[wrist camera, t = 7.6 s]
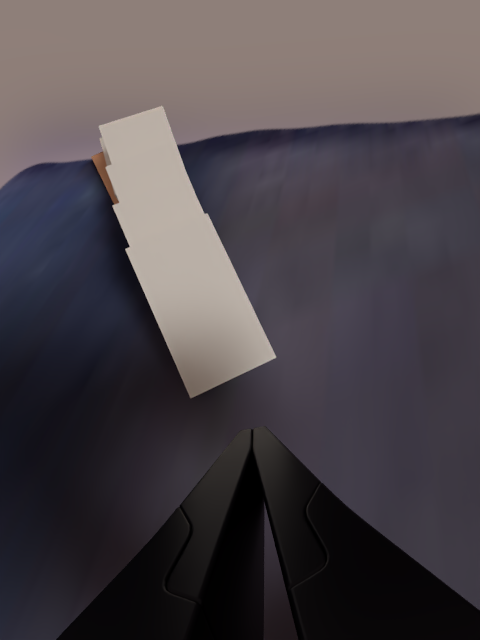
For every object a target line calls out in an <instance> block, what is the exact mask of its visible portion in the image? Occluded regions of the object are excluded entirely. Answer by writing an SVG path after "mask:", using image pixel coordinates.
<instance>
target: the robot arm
mask: <svg viewBox="0 0 480 640" xmlns="http://www.w3.org/2000/svg"><path fill="white" fill-rule="evenodd" d="M264 502H265V506H266V510H267V514H268V518H269V522H270V526H271V530H272V534H273V538H274V542H275V546H276V550H277V554H278V558H279V562H280V567H281V571H282V575H283V579H284V583H285V587H286V591H287V595H288V599H289V603H290V607H291V611H292V615H293V619H294V623H295V627H296V631H297V636H298V640H480V610H478V609H477V608H476V607H475V606H473V605H472V604H471V603H469V602H468V601H467V600H466V599H464V598H463V597H462V596H460V595H459V594H458V593H457V592H455V591H454V590H453V589H451V588H450V587H449V586H448V585H446V584H445V583H444V582H442V581H441V580H440V579H439V578H437V577H436V576H435V575H433V574H432V573H431V572H430V571H428V570H427V569H426V568H424V567H423V566H422V565H421V564H419V563H418V562H417V561H415V560H414V559H413V558H412V557H410V556H409V555H408V554H407V553H405V552H404V551H403V550H401V549H400V548H399V547H398V546H396V545H395V544H394V543H392V542H391V541H390V540H389V539H387V538H386V537H385V536H383V535H382V534H381V533H380V532H378V531H377V530H376V529H374V528H373V527H372V526H371V525H369V524H368V523H367V522H366V521H364V520H363V519H362V518H361V517H359V516H358V515H357V514H356V513H355V512H353V511H352V510H351V509H350V508H348V507H347V506H346V505H345V504H344V503H343V502H342V501H341V500H340V499H339V498H337V497H336V496H335V495H334V494H333V493H332V492H331V491H330V490H329V489H328V488H327V487H326V486H325V485H324V484H323V483H321V481H320V480H319V479H318V478H317V477H316V476H315V475H314V474H313V473H312V472H311V471H310V470H309V469H308V468H307V467H306V466H305V465H304V464H303V463H302V462H301V461H300V460H299V459H298V458H297V457H296V456H295V455H294V454H293V453H292V452H291V451H290V450H289V449H288V448H287V447H286V446H285V445H284V444H283V443H282V442H281V441H280V440H279V439H278V438H277V437H276V436H275V435H274V434H273V433H272V432H271V431H270V430H269V429H268V428H267V427H265V426H263V427H258V428H254V429H253V430H252V429H247V430H241V431H240V432H239V433H238V434H237V435H236V437H235V438H234V439H233V440H232V442H231V443H230V444H229V445H228V447H227V448H226V449H225V450H224V452H223V453H222V454H221V455H220V457H219V458H218V459H217V460H216V461H215V463H214V464H213V465H212V466H211V468H210V469H209V470H208V471H207V473H206V474H205V475H204V476H203V478H202V479H201V480H200V481H199V482H198V484H197V485H196V486H195V487H194V489H193V490H192V491H191V492H190V494H189V495H188V496H187V497H186V499H185V500H184V501H183V502H182V503H181V505H180V507H178V508H177V509H176V510H175V511H174V513H173V514H172V515H171V516H170V518H169V519H168V520H167V521H166V522H165V523H164V525H163V526H162V527H161V528H160V529H159V530H158V532H157V533H156V534H155V535H154V536H153V538H152V539H151V540H150V541H149V542H148V543H147V544H146V545H145V546H144V547H143V548H142V550H141V551H140V552H139V553H138V554H137V555H136V556H135V557H134V558H133V559H132V560H131V561H130V562H129V564H128V565H127V566H126V567H125V568H124V569H123V570H122V571H121V572H120V573H119V574H118V575H117V576H116V577H115V578H114V579H113V580H112V581H111V582H110V583H109V585H108V586H107V587H106V588H105V589H104V590H103V591H102V592H101V593H100V594H99V595H98V596H97V597H96V598H95V599H94V600H93V601H92V602H91V603H90V604H89V606H88V607H87V608H86V609H85V610H84V611H83V612H82V613H81V614H80V615H79V616H78V617H77V618H76V619H75V620H74V621H73V622H72V623H71V624H70V625H69V627H68V628H67V629H66V630H65V631H64V632H63V633H62V634H61V635H60V636H59V637H58V638H57V639H56V640H264Z"/></svg>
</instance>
